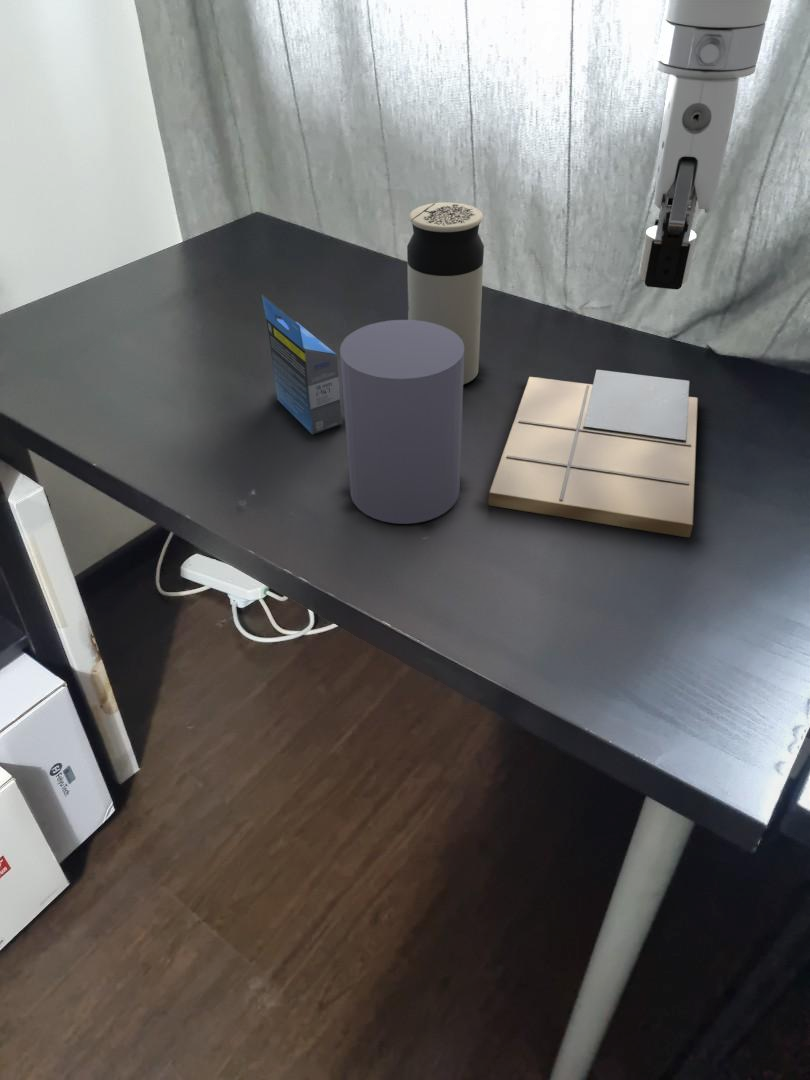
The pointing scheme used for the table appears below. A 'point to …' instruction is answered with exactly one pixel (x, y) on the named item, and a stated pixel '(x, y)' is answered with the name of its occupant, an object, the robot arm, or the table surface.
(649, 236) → the white squat cylinder
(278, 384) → the blue product box
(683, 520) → the board
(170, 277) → the table surface
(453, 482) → the container
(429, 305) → the travel mug
